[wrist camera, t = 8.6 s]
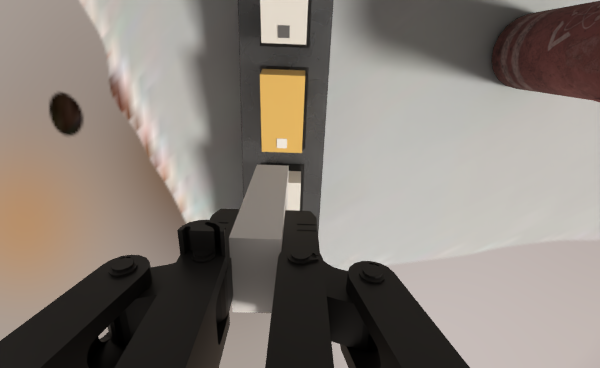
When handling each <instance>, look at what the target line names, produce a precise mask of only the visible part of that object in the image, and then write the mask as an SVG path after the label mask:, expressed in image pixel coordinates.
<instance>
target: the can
mask: <svg viewBox="0 0 600 368" xmlns="http://www.w3.org/2000/svg"><path fill="white" fill-rule="evenodd" d="M492 65H493V71H494V73H495V74H496V76H497V78H498V80H499V81H501V82H502V83H503V84H505V85H506V86H509V87H512V88H516V89H522V90H529V91H536V92H542V93H549V94H555V95H562V96H568V97H575V98H581V99H588V100H594V101H597V102H600V1H597V2H591V3H586V4H580V5H575V6H569V7H563V8H558V9H552V10H547V11H541V12H536V13H530V14H527V15H524V16H522V17H520V18H517V19H516V20H514V21H513V22H512V23H511V24H509V25H508V26H507V27H506V28H505V29H504V31H503V32H502V33H501V34H500V36H499V37H498V39H497V41H496V44H495V46H494V48H493V55H492Z"/></svg>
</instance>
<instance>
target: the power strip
mask: <svg viewBox="0 0 600 368" xmlns="http://www.w3.org/2000/svg"><path fill="white" fill-rule="evenodd" d="M238 14H239V50H240V86H241V122H242V157H243V193H244V197H245V194H246V192H247V189H248V187H249V184H250V181H251V179H252V176H253V174H254V171H255V168H256V166H257V165H283V166H289V171H301V193H300V211H311V212H312V213H313V214H314V215H315V216H316V219H317V230H318V229H319V214H320V198H321V183H322V168H323V152H324V137H325V121H326V106H327V91H328V75H329V60H330V44H331V29H332V14H333V0H308V15H307V38H306V45H302V44H277V43H261V11H260V0H238ZM262 69H280V70H305V93H304V116H303V139H302V153H285V152H262V141H261V102H260V73H261V71H262ZM317 232H318V231H317Z"/></svg>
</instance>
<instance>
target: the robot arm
mask: <svg viewBox="0 0 600 368" xmlns="http://www.w3.org/2000/svg"><path fill="white" fill-rule="evenodd" d="M288 172H289V166H283V165H257V166H256V168H255V171H254V174H253V176H252V179H251V181H250V184H249V187H248V189H247V192H246V194H245V197H244V200H243V202H242V205H241V207H240V209H220V210H219V211H217V212H216V213H214V214H213V215H212V217H211V218H210V220H198V221H193V222H189V223H187V224H185V225H183V226H182V227H180V228H179V229H178V238H179V246H180V256H179V258H178V260H177V262H176V263H173V264H169V265H163V266H157V267H151V268H150V262H149V261H148V260H147V258H145V257H142V256H140V255H127V256H121V257H118V258H115V259H112V260H110V261H108V262H107V263H105V264H103V265H102V266H100V267H99V268H98V269H97V270H95V271H94V272H92V273H91V274H90V275H88V276H87V277H86V278H84V279H83V280H82V281H80V282H79V283H78V284H76V285H75V286H74V287H72V288H71V289H70V290H68V291H67V292H65V293H64V294H63V295H61V296H60V297H59V298H57V299H56V300H55V301H54V302H52V303H51V304H50V305H48V306H47V307H45V308H44V309H43V310H41V311H40V312H39V313H37V314H36V315H34V316H33V317H32V318H31V319H29V320H28V321H26V322H25V323H24V324H23V325H21V326H20V327H18V328H17V329H16V330H14V331H13V332H12V333H10V334H9V335H8V336H6V337H5V338H3V339H2V340H1V341H0V368H219V364H220V360H221V357H222V352H223V349H224V345H225V341H226V337H227V333H228V329H229V325H230V322H229V321H230V320H229V310H230V306H231V302H232V309H233V312H250V313H251V312H252V313H272V314H271V323H270V332H269V341H268V349H267V358H266V367H265V368H334V364H333V354H332V344H331V341H333V342H336V343H339V344H340V346H341V351H342V353H343V355H344V358H345V360H346V362H347V365H348V367H349V368H470V367H469V366H468V365H467V364H466V362H465V361H464V360H463V359H462V358H461V356H460V355H459V354H458V352H457V351H456V350H455V349H454V347H453V346H452V345H451V344H450V342H449V341H448V340H447V339H446V338H445V336H444V335H443V333H442V332H441V331H440V330H439V328H438V327H437V326H436V325H435V323H434V322H433V321H432V320H431V319H430V317H429V316H428V315H427V313H426V312H425V311H424V310H423V309H422V307H421V306H420V305H419V303H418V302H417V301H416V300H415V298H414V297H413V296H412V295H411V293H410V292H409V291H408V290H407V288H406V287H405V286H404V285H403V283H402V282H401V281H400V280H399V278H398V277H397V276H396V275H395V273H394V272H393V271H391V270H390V269H389V268H388V267H386V266H384V265H382V264H380V263H376V262H372V261H361V262H357V263H355V264H353V265H352V266H350V268H349V271H345V270H341V269H337V268H334V267H332V266H330V265H328V264H327V263H326V262H324V261H323V258H322V256H321V254H320V251H319V241H318V232H317V231H318V230H317V219H316V216H315V215H314V214H313V213H312V212H311V211H297V210H288ZM106 327H108V330H109V332H108V333H107V334H106V335H105V336H104V337H103V338H101V339H99V338H98V336H99V335H100V334H101V333H102V332H103V331H104V330H105V329H106Z"/></svg>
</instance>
